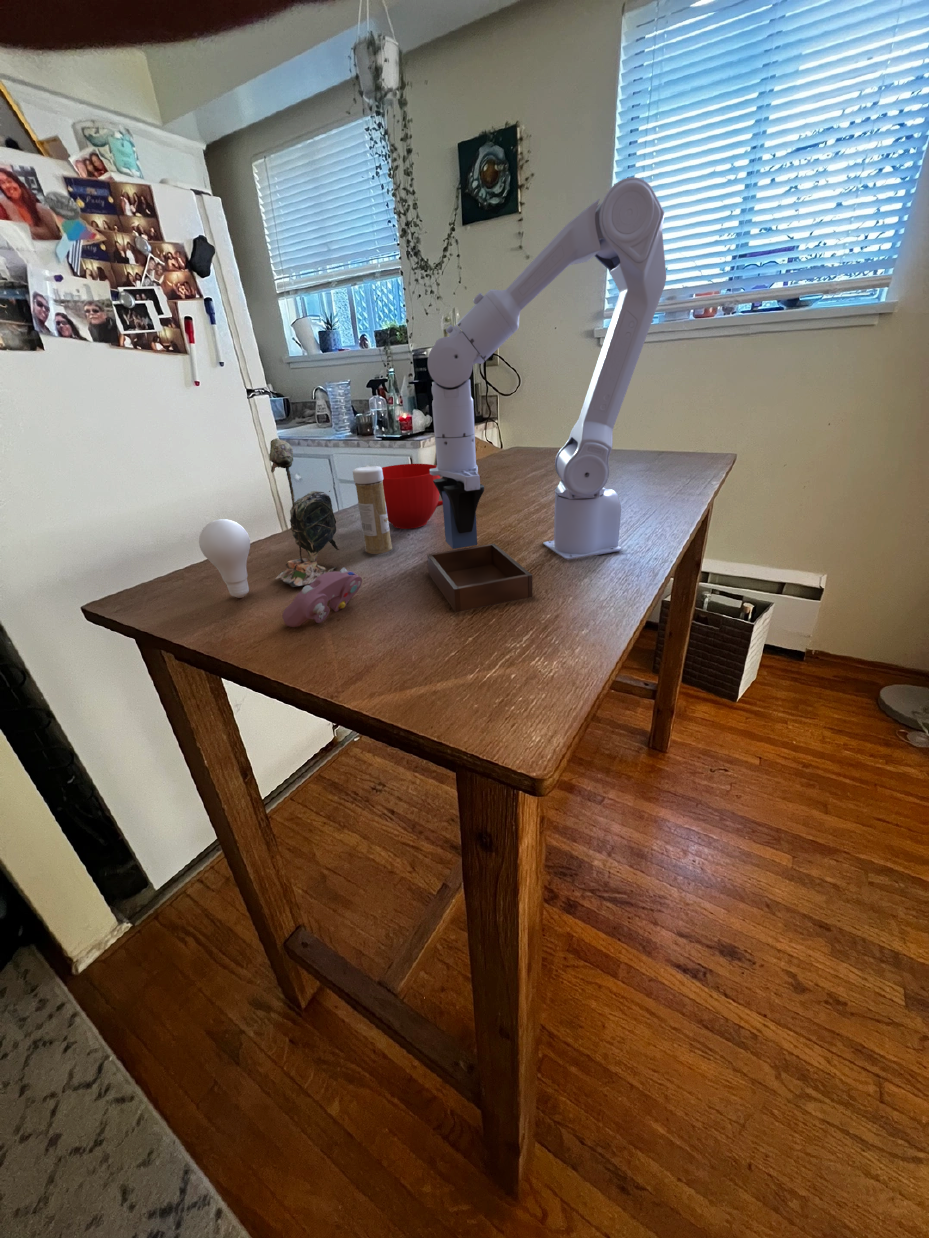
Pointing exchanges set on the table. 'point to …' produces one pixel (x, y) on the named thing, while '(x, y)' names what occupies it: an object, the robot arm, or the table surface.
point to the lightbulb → (227, 553)
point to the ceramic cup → (410, 494)
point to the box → (479, 577)
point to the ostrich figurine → (305, 523)
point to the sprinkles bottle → (372, 509)
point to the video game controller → (322, 597)
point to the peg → (451, 530)
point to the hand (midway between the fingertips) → (460, 527)
